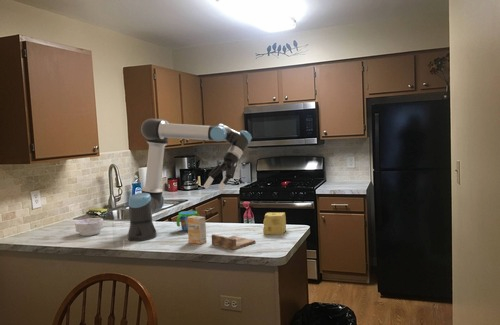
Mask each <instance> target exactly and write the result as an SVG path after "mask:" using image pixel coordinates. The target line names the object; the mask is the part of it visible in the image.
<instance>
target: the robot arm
mask: <svg viewBox="0 0 500 325" xmlns="http://www.w3.org/2000/svg"><path fill="white" fill-rule="evenodd" d="M140 126H141V127H140V131H141V132H140V133H141V134H142V136H143V137H144V138H145V139H146V143H147V144H148V150H147V151H148V153H147V164H146V172H145V173H146V174H145V183H144V184H145V185H144V187H143V188H141V192H139V193H135V194H132V195H130V196H129V198H128V213H129V215H128V216H129V224H130V225H129V229H128V232H127V239H128V240H129V241H132V242H133V241H135V242H136V241H146V240H151V239H154V238H156V237H157V235H158V234H157V230H156V227H155V225H154V223H153V214H155V213H157V212H159V211H160V210H161V209H162V208H163V206H164V205H165V197H164V195H163V189H162V188H161V184H162V183H161V182H162V177H163V176H162V175H163V165H164V155H165V147H166V146H167V145H168V144H169V143H168V142H169V139H171V138H172V139H184V140H198V141H199V140H200V141H213V142H226V143H228V144H230V147H229V148H228V150H227V152H226V153H225V154H224V156H223V162H222V161H219V162H218V163H217V164H216V166H215V167H213V169H212V170H211V171H210V172H208V174H207V176H208V178H207V179H206V181H205V183H204V184H203V187H204V188H205V189H206V190H208V189H209V188H210V186H211V185H212V184H213V181H214V180H215V178H216V177H217V176H219V175H220V174H221V173H224V172H225V175H224V177H223V178H222V180H221V181H220V183H219V185H218V186H217V188H218V189H219V190H220V191H223V190H224V188H225V187H226V185H227V184H228V182H229V180H231V179H232V180H233V179H234V176H235V174H236V168H237V166H238V164H237V163H238V162H239V160H240V159H241V157H242V155H243V153H244V152H245V151H246V149H247V148H248V146H249V144H250V143H251V141H252V139H253V137H252V134H251V133H250V132H249V131H247V130H240V131H237V130H234V129H232V128H231V127H230V126H227V125H225V124H223V123H219V124H218V125H201V124H186V123H171V122H170V123H169V122H168V121H167V120H165V119H162V118H147V119H146V120H144V121H143V122H142V124H141V125H140Z"/></svg>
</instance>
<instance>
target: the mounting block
mask: <svg viewBox="0 0 500 325" xmlns="http://www.w3.org/2000/svg"><path fill="white" fill-rule="evenodd" d="M253 244H256V240H255V239H252V238H251V239H250V238H245V237H240V236H235V235H231V236H223V235H218V234H215V233H214V234H213V233H212V234H211V245H214V246H215V247H221V248H226V249H230V250H233V251H235V250H238V249H241V248H244V247H248V246H250V245H253Z"/></svg>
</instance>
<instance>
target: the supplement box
mask: <svg viewBox="0 0 500 325" xmlns="http://www.w3.org/2000/svg"><path fill="white" fill-rule="evenodd" d="M187 223H188V231H187V235H188V243H189V244H196V245H198V244H199V245H202V244H203V245H204V244H205V243H207V226H206V225H207V224H206V217H205V216H201V215H199V216H197V215H196V216H190V217H187Z"/></svg>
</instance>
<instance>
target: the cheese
mask: <svg viewBox="0 0 500 325" xmlns="http://www.w3.org/2000/svg"><path fill="white" fill-rule="evenodd" d="M286 219H287V218H286V212H266V213H265V215H264V219H263V228H262V231H263V232H262V233H263V235H273V236H274V235H278V236H281V235H282V236H283V235H284V233H285V232H286V230H287V220H286Z"/></svg>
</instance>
